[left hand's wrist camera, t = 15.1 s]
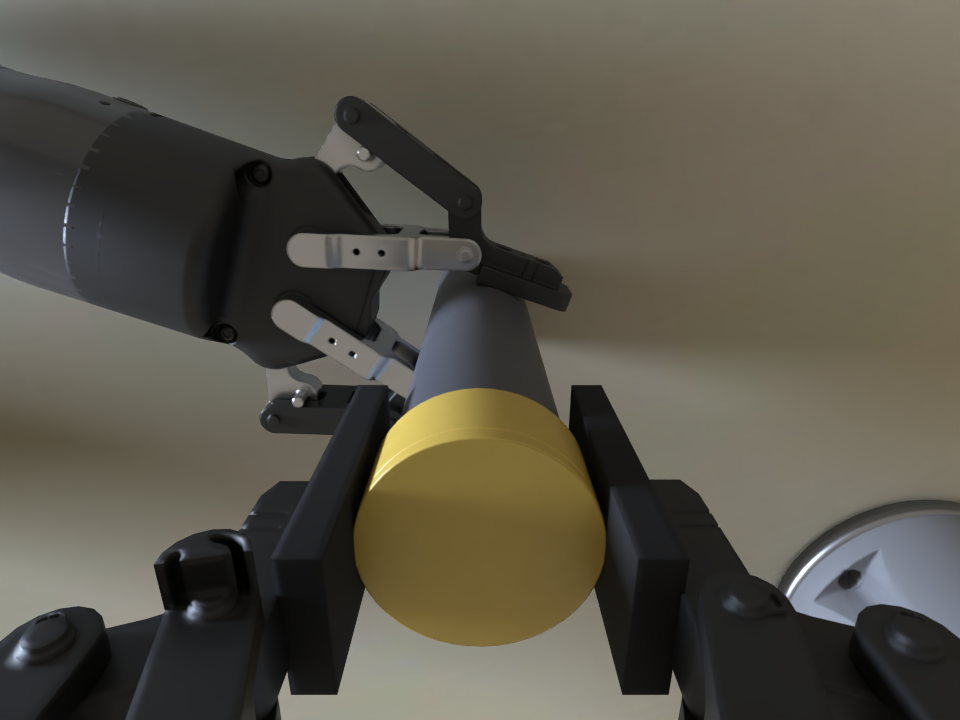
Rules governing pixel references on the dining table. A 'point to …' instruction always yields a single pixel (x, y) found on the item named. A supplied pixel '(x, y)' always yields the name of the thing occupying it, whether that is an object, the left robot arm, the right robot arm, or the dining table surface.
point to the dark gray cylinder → (478, 345)
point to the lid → (479, 520)
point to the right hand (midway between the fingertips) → (542, 350)
